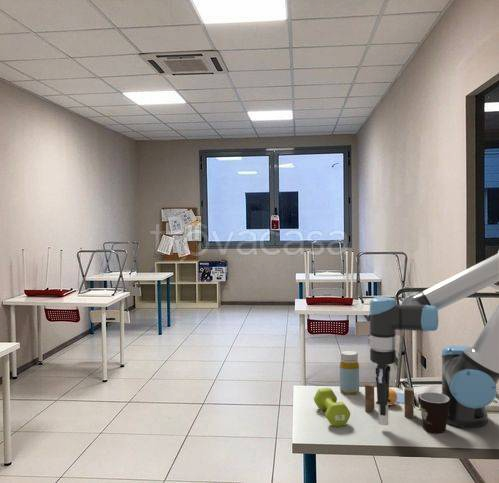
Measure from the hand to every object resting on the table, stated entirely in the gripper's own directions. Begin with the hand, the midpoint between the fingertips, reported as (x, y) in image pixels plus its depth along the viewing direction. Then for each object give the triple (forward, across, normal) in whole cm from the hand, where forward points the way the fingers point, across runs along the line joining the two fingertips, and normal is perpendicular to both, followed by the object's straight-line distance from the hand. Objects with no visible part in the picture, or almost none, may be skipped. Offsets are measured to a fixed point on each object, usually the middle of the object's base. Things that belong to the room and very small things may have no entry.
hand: (383, 423), depth 150 cm
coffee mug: (+2, -7, +14) cm, 16 cm away
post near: (+2, -13, +6) cm, 15 cm away
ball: (-1, -20, -1) cm, 20 cm away
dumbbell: (+2, -4, -17) cm, 18 cm away
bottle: (+2, -27, -16) cm, 31 cm away
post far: (+2, -13, -6) cm, 15 cm away
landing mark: (+2, -27, 0) cm, 27 cm away
